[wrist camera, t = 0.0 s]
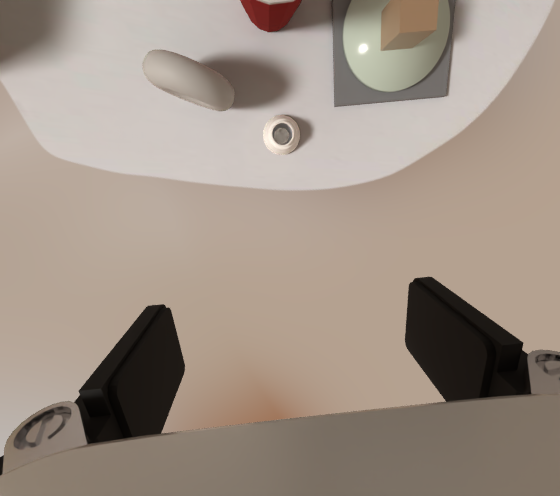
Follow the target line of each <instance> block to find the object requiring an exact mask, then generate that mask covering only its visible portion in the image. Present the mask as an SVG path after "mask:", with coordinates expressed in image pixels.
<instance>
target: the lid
mask: <svg viewBox="0 0 560 496" xmlns="http://www.w3.org/2000/svg"><path fill="white" fill-rule="evenodd" d="M449 28H450V8H449V3H448V0H351V2H350V4H349V7H348V9H347V12H346V15H345V19H344V23H343V30H342V44H343V51H344V56H345V59H346V62H347V64H348V66H349V68H350V70H351V72H352V73H353V75H354V76H355V77H356V78H357V80H359V81H360V82H361V83H362V84H363V85H365V86H366V87H368V88H370V89H372V90H375V91H378V92H384V93H391V92H397V91H401V90H404V89H406V88H408V87H410V86H412V85H414V84H416V83H417V82H419V81H420V80H422V79H423V78H424V77H425V76H426V75H427V74H428V73H429V72H430V71H431V70H432V69H433V67H434V66H435V65H436V63H437V62H438V60H439V58H440V57H441V55H442V52H443V50H444V48H445V45H446V42H447V38H448V34H449Z"/></svg>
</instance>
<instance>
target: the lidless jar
mask: <svg viewBox="0 0 560 496" xmlns="http://www.w3.org/2000/svg"><path fill="white" fill-rule="evenodd" d="M280 123H285V124H287V125H288V126H289V127H290V128H291V130H292V139H291V141H290V142H289V143H287V144H285V145H280V144H284V143H286V142H287V141H288V139H289V133H288V131H287V130H286V129H285V128H278V129H277V130H276V131H275V132H274V139H275V141H276V142H277V143H276V142H275V141H274V139H273V136H272V132H273V129H274V127H275V126H276V125H278V124H280ZM263 138H264V142H265V144H266V146H267V148H268V149H269V150H270V151H271V152H272V153H275V154H278V155H285V154H288V153H290V152H292V151H293V150H294V149H295V148H296V146H297V145H298V142H299V139H300V130H299V127H298V125H297V123H296V122H295V121H294V120H293V119H292V118H291V117H288V116H286V115H276V116H275V117H273V118H271V119H270V120H269V121H268V122H267V124H266V125H265V128H264V131H263ZM278 143H279V144H278Z"/></svg>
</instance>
